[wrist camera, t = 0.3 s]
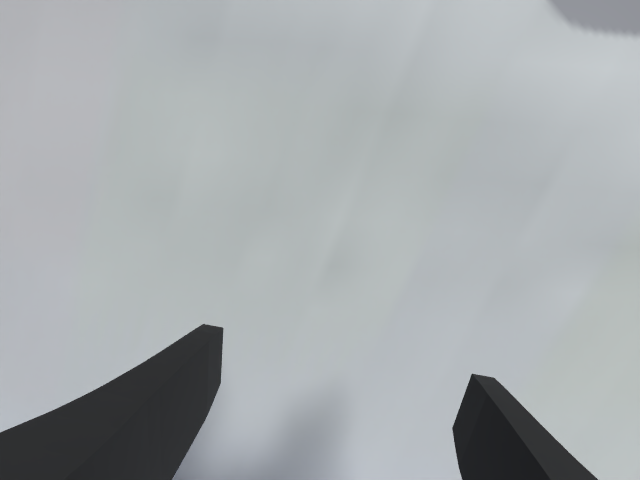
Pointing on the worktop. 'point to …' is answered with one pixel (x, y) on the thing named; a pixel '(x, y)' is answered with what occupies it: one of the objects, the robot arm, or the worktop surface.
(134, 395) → the robot arm
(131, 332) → the worktop surface
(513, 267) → the worktop surface
